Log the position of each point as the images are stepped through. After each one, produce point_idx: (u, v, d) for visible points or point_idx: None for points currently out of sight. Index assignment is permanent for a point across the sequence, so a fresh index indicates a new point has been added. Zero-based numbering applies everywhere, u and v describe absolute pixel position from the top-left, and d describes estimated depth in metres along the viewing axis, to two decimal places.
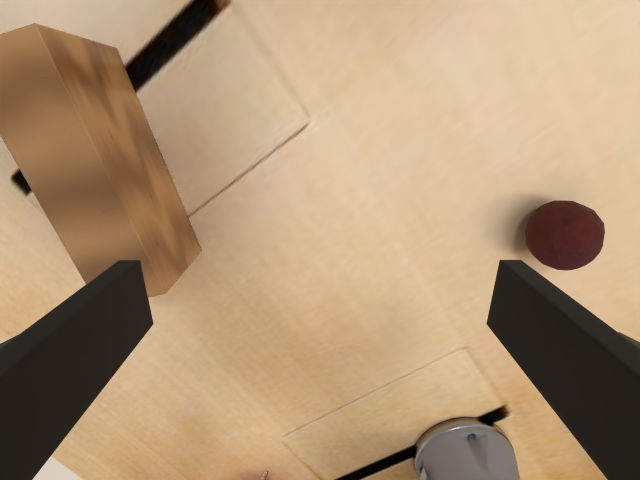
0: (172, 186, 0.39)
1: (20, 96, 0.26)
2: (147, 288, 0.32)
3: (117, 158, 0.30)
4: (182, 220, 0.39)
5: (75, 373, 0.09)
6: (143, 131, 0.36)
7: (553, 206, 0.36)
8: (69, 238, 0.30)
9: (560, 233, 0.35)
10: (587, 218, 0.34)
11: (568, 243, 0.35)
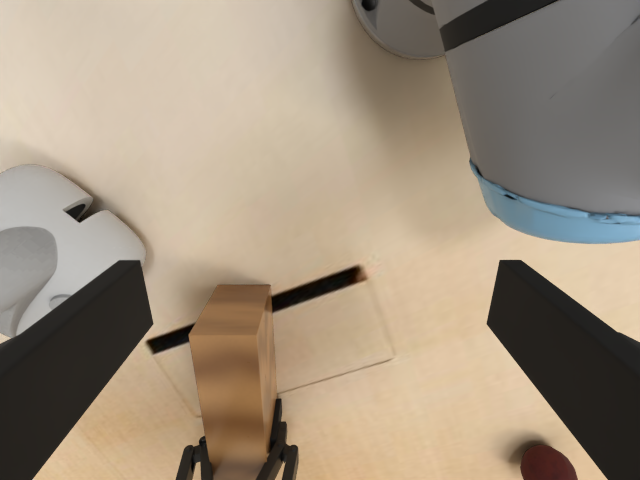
0: (275, 376, 0.49)
1: (223, 367, 0.36)
2: None
3: (265, 395, 0.40)
4: None
5: (75, 373, 0.09)
6: (272, 345, 0.46)
7: (547, 456, 0.50)
8: (214, 445, 0.40)
9: None
10: (568, 478, 0.49)
11: None
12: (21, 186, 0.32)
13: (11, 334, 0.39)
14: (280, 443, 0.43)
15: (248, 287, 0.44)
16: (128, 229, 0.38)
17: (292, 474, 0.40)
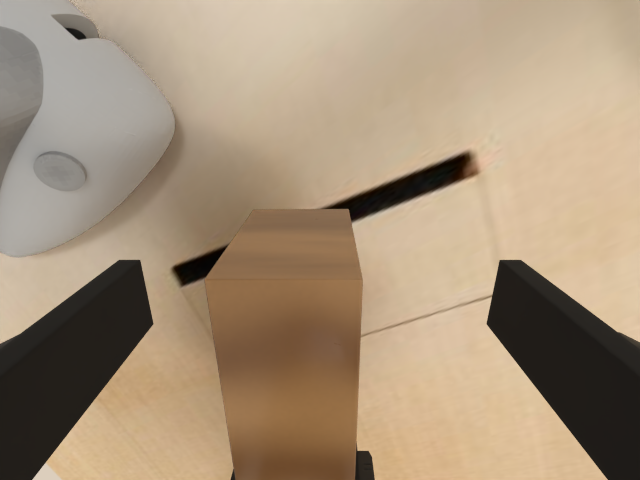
0: None
1: (281, 354, 0.16)
2: None
3: None
4: None
5: (75, 373, 0.09)
6: None
7: None
8: None
9: None
10: None
11: None
12: None
13: None
14: None
15: (310, 211, 0.24)
16: (150, 78, 0.26)
17: None
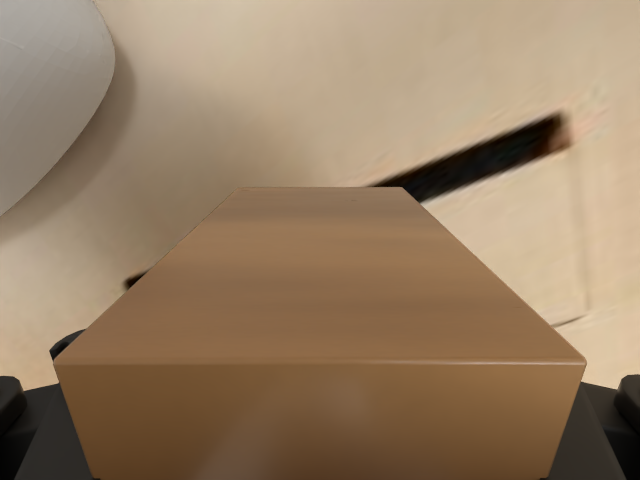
0: None
1: None
2: None
3: None
4: None
5: None
6: None
7: None
8: None
9: None
10: None
11: None
12: None
13: None
14: None
15: (338, 190, 0.14)
16: None
17: None
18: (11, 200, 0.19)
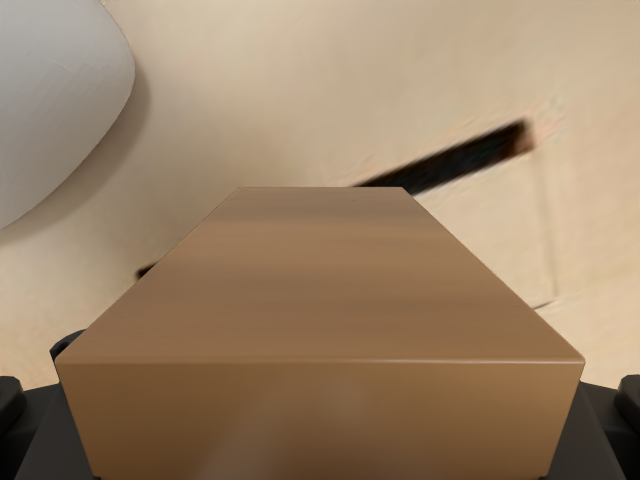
0: None
1: None
2: None
3: None
4: None
5: None
6: None
7: None
8: None
9: None
10: None
11: None
12: None
13: None
14: None
15: (338, 190, 0.14)
16: None
17: None
18: (40, 197, 0.22)
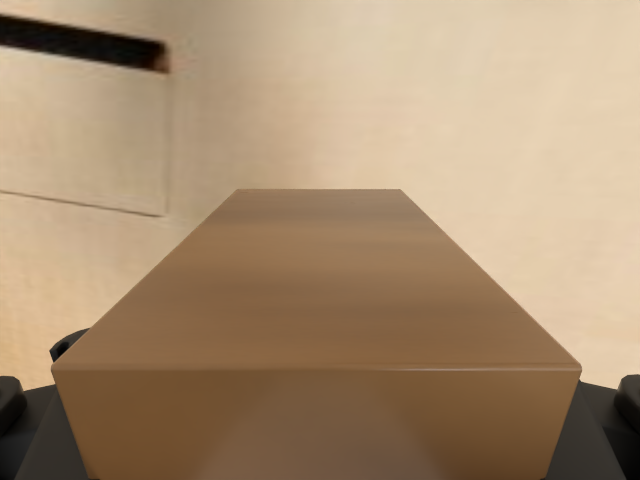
0: None
1: None
2: None
3: None
4: None
5: None
6: None
7: None
8: None
9: None
10: None
11: None
12: None
13: None
14: None
15: (337, 192, 0.14)
16: None
17: None
18: None
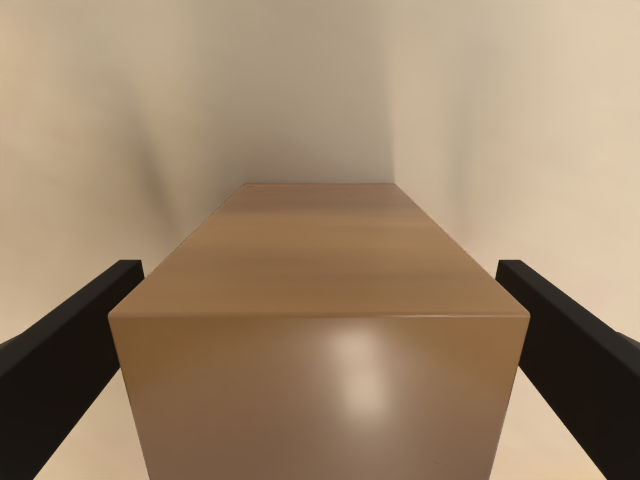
0: None
1: None
2: None
3: None
4: None
5: (76, 373, 0.09)
6: None
7: None
8: None
9: None
10: None
11: None
12: None
13: None
14: None
15: (336, 186, 0.15)
16: None
17: None
18: None
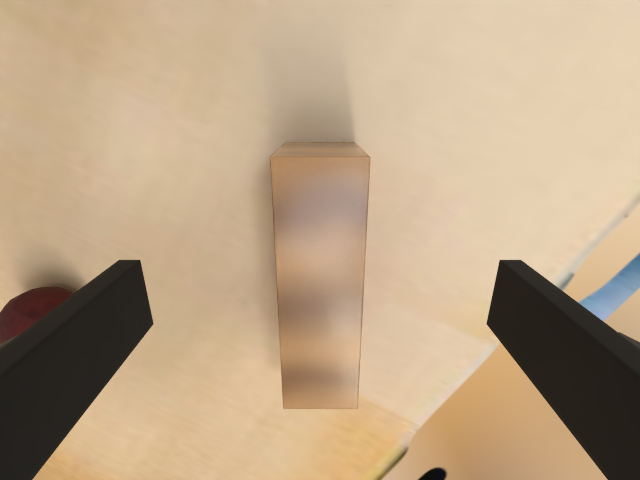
0: None
1: (316, 213, 0.25)
2: (341, 401, 0.31)
3: None
4: None
5: (75, 373, 0.09)
6: None
7: (55, 296, 0.35)
8: (290, 343, 0.29)
9: (15, 315, 0.33)
10: None
11: (9, 327, 0.33)
12: None
13: None
14: None
15: (328, 143, 0.33)
16: None
17: None
18: None
